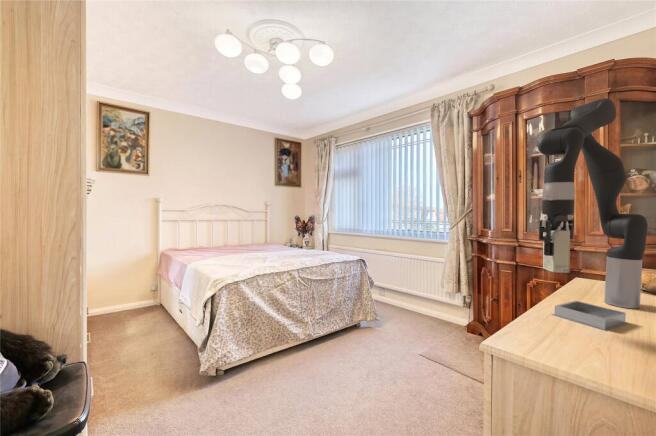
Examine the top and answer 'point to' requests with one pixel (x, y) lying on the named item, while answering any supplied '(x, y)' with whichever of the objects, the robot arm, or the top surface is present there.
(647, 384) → the top surface
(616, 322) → the shallow grey tray
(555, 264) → the skincare box
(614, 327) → the slate base plate
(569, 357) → the top surface
